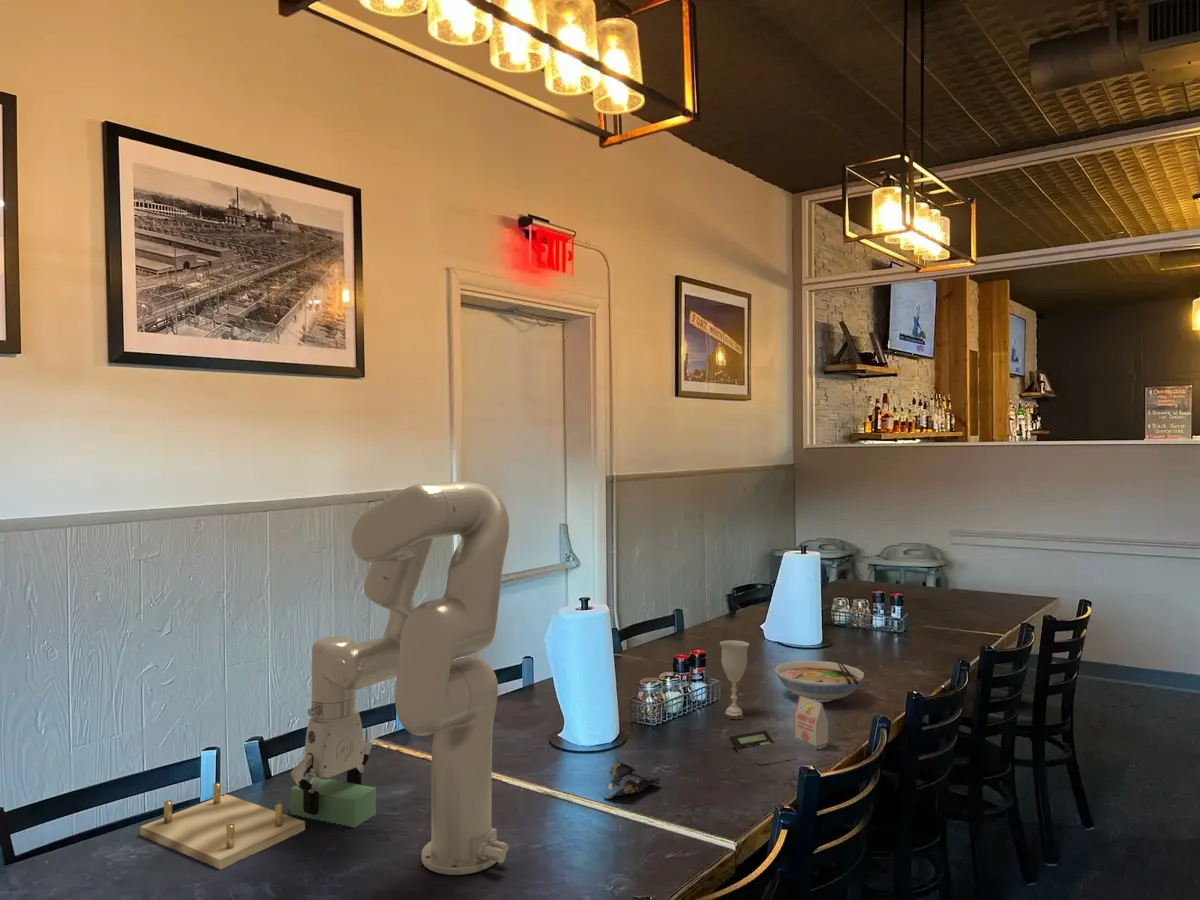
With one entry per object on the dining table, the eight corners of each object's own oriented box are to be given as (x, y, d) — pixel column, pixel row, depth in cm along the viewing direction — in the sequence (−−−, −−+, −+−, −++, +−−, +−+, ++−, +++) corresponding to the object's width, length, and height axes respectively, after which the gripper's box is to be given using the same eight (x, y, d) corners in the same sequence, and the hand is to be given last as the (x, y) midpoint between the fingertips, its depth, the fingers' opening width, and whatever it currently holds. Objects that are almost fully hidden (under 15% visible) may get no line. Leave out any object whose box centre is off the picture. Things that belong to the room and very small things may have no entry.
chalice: (753, 715, 209) (753, 642, 209) (742, 723, 203) (742, 648, 203) (725, 710, 213) (726, 639, 213) (714, 718, 207) (714, 644, 207)
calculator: (760, 767, 176) (760, 752, 176) (729, 749, 186) (729, 735, 186) (797, 760, 180) (797, 746, 180) (764, 743, 190) (764, 730, 190)
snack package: (586, 786, 166) (610, 807, 155) (591, 752, 167) (615, 771, 156) (641, 787, 171) (668, 808, 160) (645, 754, 171) (672, 773, 161)
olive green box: (376, 815, 152) (376, 787, 152) (354, 829, 146) (354, 800, 146) (313, 803, 157) (313, 776, 157) (290, 816, 152) (290, 788, 152)
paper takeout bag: (805, 738, 192) (805, 694, 192) (827, 747, 187) (828, 702, 187) (793, 741, 190) (793, 697, 190) (815, 750, 185) (816, 704, 185)
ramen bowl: (771, 684, 237) (771, 655, 237) (856, 687, 234) (856, 658, 234) (778, 711, 212) (778, 678, 212) (872, 715, 209) (872, 682, 209)
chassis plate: (305, 830, 145) (305, 801, 145) (220, 869, 132) (220, 837, 132) (225, 802, 157) (225, 775, 157) (140, 835, 143) (140, 805, 143)
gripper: (308, 724, 143) (307, 826, 143) (384, 699, 157) (383, 791, 157) (279, 716, 147) (278, 816, 147) (356, 692, 161) (355, 782, 161)
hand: (333, 803), depth 152 cm, fingers open, 9 cm apart
